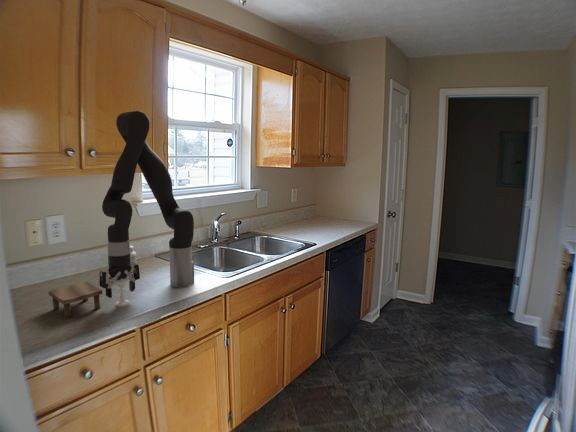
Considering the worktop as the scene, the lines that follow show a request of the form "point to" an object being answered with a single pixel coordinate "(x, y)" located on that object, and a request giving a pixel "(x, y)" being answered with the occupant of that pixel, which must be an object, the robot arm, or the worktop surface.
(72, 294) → the small wooden table
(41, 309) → the worktop surface
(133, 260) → the supplement bottle
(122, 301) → the chess piece
